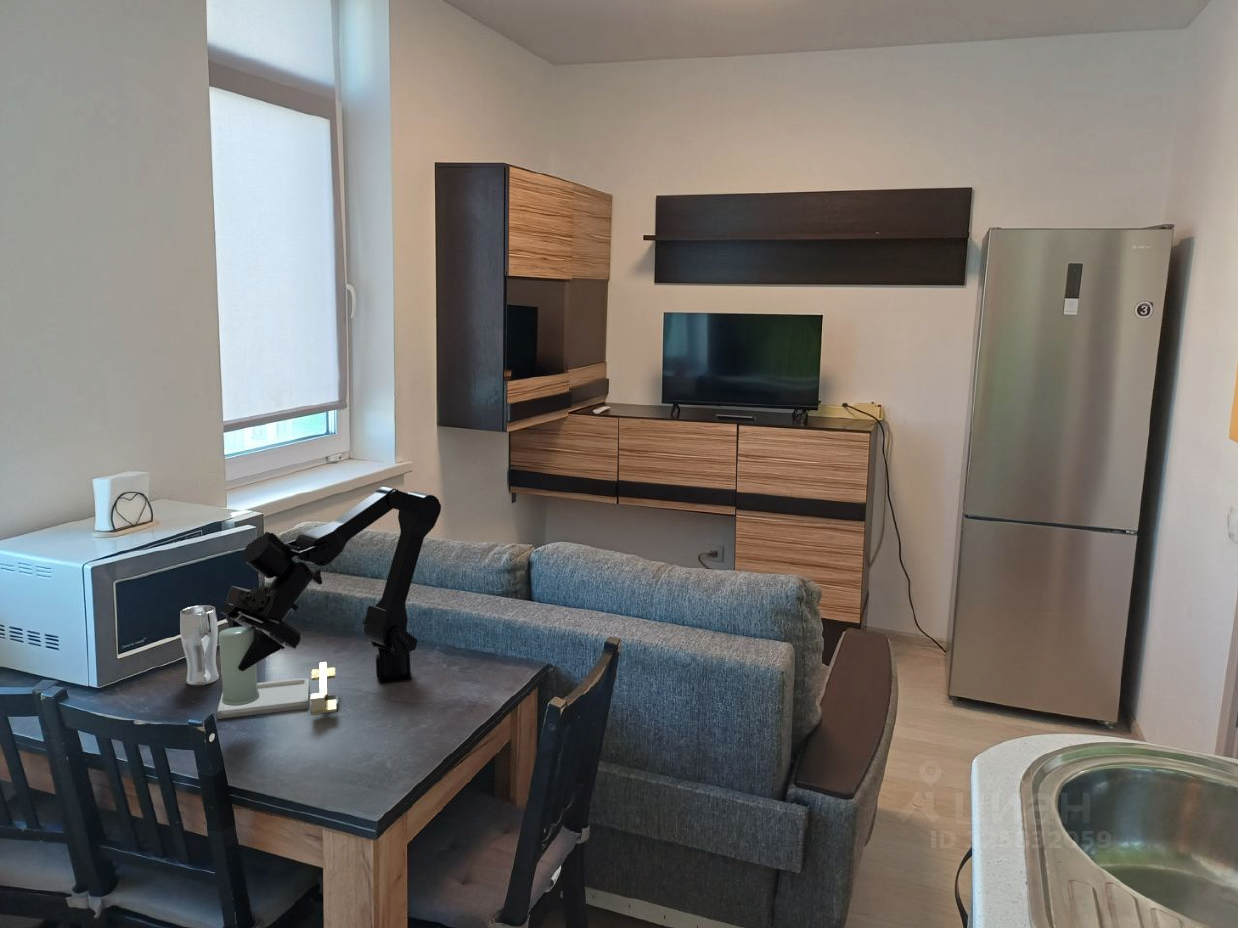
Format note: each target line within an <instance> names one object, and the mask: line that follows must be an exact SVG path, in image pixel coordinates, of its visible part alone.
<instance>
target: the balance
mask: <svg viewBox="0 0 1238 928" xmlns="http://www.w3.org/2000/svg"><path fill="white" fill-rule="evenodd" d="M335 678H336V667H335V666H334V667H327V662H326V661H324V662H319V668H317V669H316V668H315V669H311V681H318V680H319V692H316V693H310V713H311V715H317V714H324V713H325V714H326V713H327V714H328V713H332V712H333V713H334V712H337V710H339V695H338V694H332V695H329V692H328V691H329V690H328V681H327V680H328V679H335Z"/></svg>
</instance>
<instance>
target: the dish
mask: <svg viewBox="0 0 1238 928" xmlns="http://www.w3.org/2000/svg"><path fill="white" fill-rule="evenodd" d="M257 685H258V691H259V698H258V699H257V700H256V701H254V702H252V703H249V704H245V705H239V706H229V705H225V704H223V702H222V697H223V691H222V693H221V697H220V700H219V703H218V708H217V720H219V719H227V718H228V719H229V718H236V717H237V718H238V717H246V716H253V715H262V714H270V713H271V714H272V713H277V712H278V713H279V712H285V711H286V712H287V711H297V710H302V709H303V710H305V709H308V708H309V701H310V700H309V698H310V677H301V678H291V679H290V678H289V679H284V680H283V679H281V680H272V681H263V682H257Z"/></svg>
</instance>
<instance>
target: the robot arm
mask: <svg viewBox="0 0 1238 928" xmlns="http://www.w3.org/2000/svg"><path fill="white" fill-rule="evenodd" d="M392 510H397V511H398V514H397V519H398V523H399V530H400V532H399V538H398V540H397V544H396V547H395V551H394V555H393V558H392V561H391V565H390V568H389V572H388V575H387V578H386V582H385V585H384V590H383V593H382V596H381V599H380V600H379V601H378V602H377V603H376V605H371V604H369V605H368V607H367V609H366V615H365V617H364V620H363V622H362V625H364V627H363V633H364V635H365V637H366V639H368V640H369V641H370V643H371V646H372V647H373V648H376V649H377V654H375V655H374V657H375V673H376V678H377V679H378V680H379V683H380V684H386V683H397V682H404V681H412V679H413V675H412V671H411V652H413V651H416V649H417V648H416V647H417V645H418V644H417V643H418V639H417V638H416V637H415V636H413V635H412V634H410V632H408V631H407V629H408V621H409V618H408V613H407V607H406V602H407V600H408V595H409V592H410V588H411V585H412V581H413V578H414V575H415V572H416V567H417V564H418V560H419V557H420V553H421V550H422V546H423V543H424V539H425V537H426V536H427V535H428V534H429V533H430V532H431V530H432V529H434V527H435V526H436V524H437V521H438V519H439V516H440V514H441V511H442V504H441V503H440V500H439V499H438V498H437V496H435V495H433V494H429V493H428V494H427V493H423V492H418V491H409V492H404V491H400V490H399V489H397V488H393V487H387V486H381V487H379V488H378V489H376V490H375V492H374V493H372V494H371V495H370V496H368V497H367V498H365V499H363V500H362V501H361V502H359V503H358V504H357V505H355V506H354V507H352V508H350V509H349V510H348V511H346V512H345V513H343V514H341V516H339V517H337V518H336V519H335V520H333V521H331V522H329V523H326V524H322V525H318V526H314V527H313V528H311V529H308V530H306V531H304V532H302V533H300V534H299V535H298V536H297V537H296V539H294V540H290V541H288V542H287V541H286V542H283V541H281V540H280V538H279V537H278V536H277V535H276V534H275V533H274V532H271V531H268V530H267V531H265V532H264V534H263V535H262V536H259V537H257V538H255V539H254V540H253V541H252V542H250V543H248V544H247V546H246V547H245V548H244V550H243V551H242V552H243V553H242V557H241V558H242V560H243V562H245V563H246V564H247V565H249V566H250V567H252V569H254V570H255V571H257V572H258V573H259V574H261V576H263V577H264V578H266V579H272V578H274V579H273V580H272V581H271V583H270V584H269V586H265V585H263V586H261V587H260V588H257V587H252V589H247V588H242V587H238V586H233V585H231V586H230V589H229V591H228V594H227V597H226V599H225V604H224V606H223V607H222V608H221V610H220V611H219V612H220V613H221V614H223V615H224V616H225V617H226V618H225V620H226V621H227V623H228V628H233V627H251V628H253V629H254V641H253V642H252V644H251V646H250V647H249V649H248V651H247V652H246V654H245V656H244V657H243V659H242V661H241V663H240V665H239V666H238V669H239V670H241V671H244V670H246V669H248V668H249V667H251V666H252V665H254V664H256V665H257V663H259V662H261V661H262V660H265V659H266V658H267V657H269V656H271V655H273V654H275V653H277V652H278V651H280V650H284V649H285V648H286V647H288V648H290V649H293V650H296V649H297V647H298V646H299V644H300V643H301V642H302V634H301V633H300V632H299V631H298V630H297V629H295V628H294V627H292V626H291V625H289V624H288V623H287V622H286V621H284V620H285V619H286V617H287V616H288V614H289V613H290V612H291V611H293V612H296V611H297V610H298V608H299V606H298V605H297V604H296V603H297V602H298V600H299V599H300V598H301V596H302V595H303V593H304V592H305V590H306V589H307V588H308V586H309V585H310V583H313V584H316V585H318V586H319V585H320V586H321V585H322V584H323V579H322V578H323V577H322V575H321V571H322V570H321V569H317V568H311V567H310V566H309V565H307V563H308V564H312V565H315V566H320V567H326V566H328V565H330V564H331V563H332V562H333V561H334V560H336V558H338V556H340V555H341V553H342V552H343V551H344V550H345V547H346V544H347V543H349V541H350V540H351V539H352V538H354V537H355V536H358V534H360V533H361V532H363V531H364V530H365V529H366V528H368V527H369V526H371V525H372V524H373V523H375V522H376V521H378V520H379V519H381V518H382V517H384V516H385V515H386V514H388V513H390V512H391V511H392ZM293 558H294V559H297V560H300V561H299V562H298V561H297V562H295V560H293ZM304 562H306V563H304ZM284 645H285V646H286V647H285V646H284Z"/></svg>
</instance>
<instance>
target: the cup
mask: <svg viewBox="0 0 1238 928" xmlns="http://www.w3.org/2000/svg"><path fill="white" fill-rule="evenodd" d="M253 641H254V629H253V628H251V627H233V628H229V627H228V628H226V629H223V630H221V631H220V632H218V642H219V656H220V659H219V661H220V672H221V674H220V675H221V685H222V687H221V688H222V692H223V697H222V702H223V704H225V705H229V706H239V705H245V704H249V703H252V702H254V701H256V700H257V699H258V698H259V691H258V685H257V683H258V671H257V670H258V669H257V663H256V664H254V665H252V666H251V667H249V668H248V669H246V670H244V671H241V670H239V669H238V666H239V665H240V663H241V661H242V659H243V657H244V656H245V654H246V652H247V651H248V649H249V647H250V646H251V644H252V642H253Z"/></svg>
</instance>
